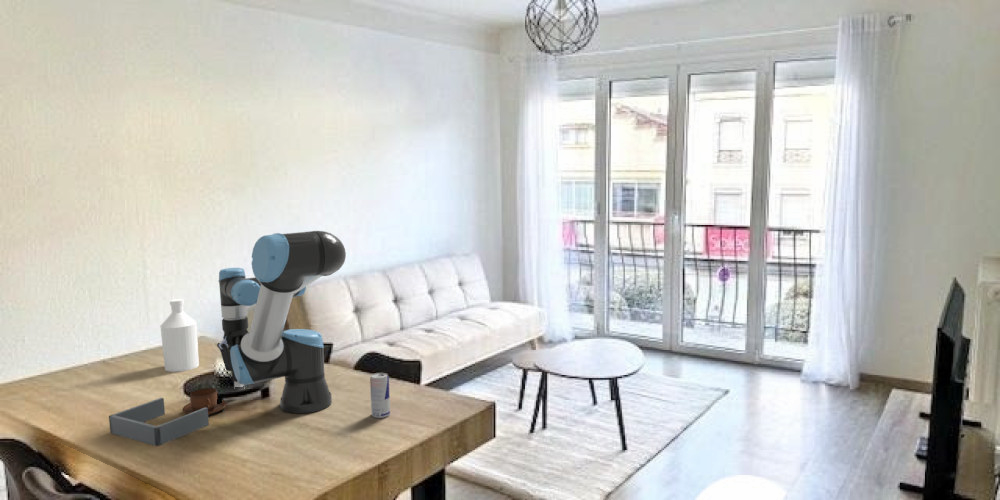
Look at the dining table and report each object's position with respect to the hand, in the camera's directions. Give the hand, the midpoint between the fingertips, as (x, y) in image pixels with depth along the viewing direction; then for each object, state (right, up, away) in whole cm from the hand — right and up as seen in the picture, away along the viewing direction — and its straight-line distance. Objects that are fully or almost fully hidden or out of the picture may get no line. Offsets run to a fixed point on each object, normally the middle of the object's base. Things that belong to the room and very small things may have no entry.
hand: (239, 390), depth 211 cm
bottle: (-34, +1, +34) cm, 48 cm away
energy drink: (+48, -4, -16) cm, 51 cm away
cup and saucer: (-6, -4, -11) cm, 13 cm away
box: (-13, -6, -24) cm, 28 cm away
